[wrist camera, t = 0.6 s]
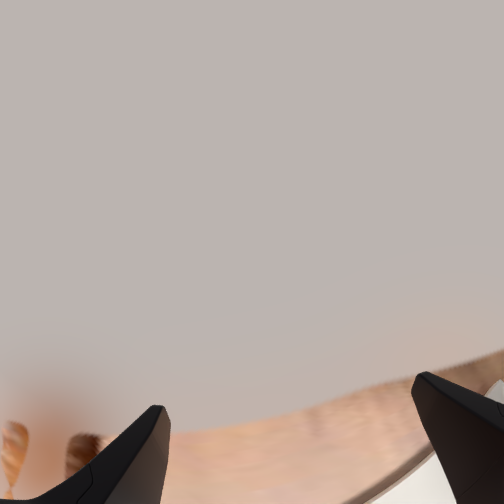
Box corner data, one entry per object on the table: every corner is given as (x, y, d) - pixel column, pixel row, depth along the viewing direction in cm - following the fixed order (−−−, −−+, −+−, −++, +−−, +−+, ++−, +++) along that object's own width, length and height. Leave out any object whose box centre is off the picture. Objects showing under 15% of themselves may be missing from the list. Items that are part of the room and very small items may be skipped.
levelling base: (534, 445, 8) (555, 434, 6) (361, 600, 3) (368, 613, 1) (490, 386, 16) (508, 371, 14) (308, 531, 12) (308, 539, 9)
